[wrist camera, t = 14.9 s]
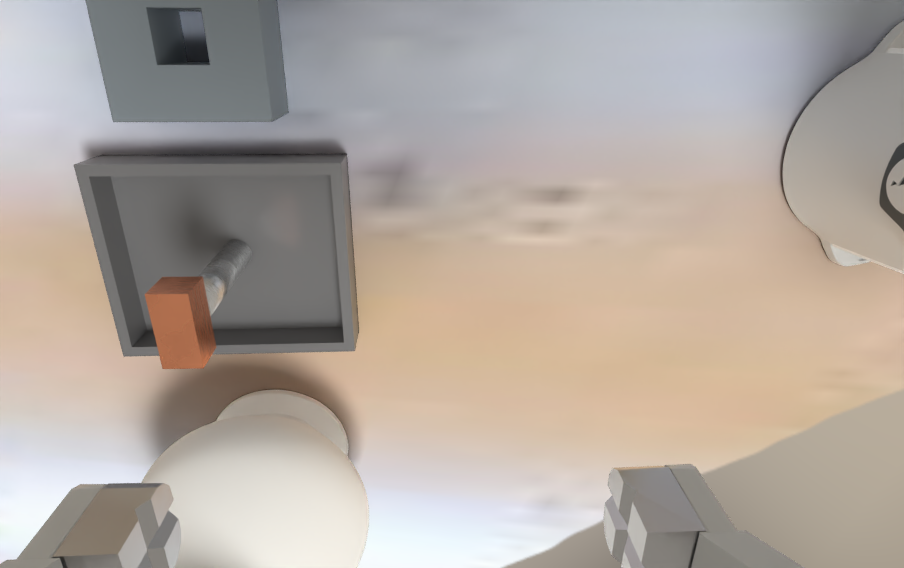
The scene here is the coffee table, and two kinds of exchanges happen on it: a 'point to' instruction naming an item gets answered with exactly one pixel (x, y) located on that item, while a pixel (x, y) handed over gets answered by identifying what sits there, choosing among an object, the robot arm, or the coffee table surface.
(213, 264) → the pin
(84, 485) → the robot arm
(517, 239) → the coffee table surface
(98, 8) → the hitch block
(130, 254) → the tray
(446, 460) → the coffee table surface
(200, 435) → the decorative vase
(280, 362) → the coffee table surface
